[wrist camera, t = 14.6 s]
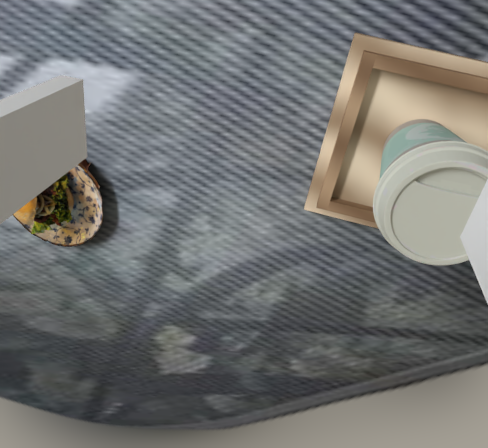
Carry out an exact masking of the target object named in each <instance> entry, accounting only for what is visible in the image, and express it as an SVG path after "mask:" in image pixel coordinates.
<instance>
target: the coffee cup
mask: <svg viewBox="0 0 488 448" xmlns="http://www.w3.org/2000/svg"><path fill="white" fill-rule="evenodd" d="M487 179H488V151H486V150H485V149H483V148H481V147H478V146H476V145H473V144H469V143H467V142H465V141H464V140H463V139H461V138H460V137H458V136H457V135H456V134H454V133H453V132H451V131H450V130H449V129H447V128H446V127H444V126H443V125H441V124H440V123H438V122H435V121H432V120H428V119H416V120H412V121H408V122H406V123H404V124H402V125H400V126H399V127H397V128H396V129H395V130H394V131H393V132H392V133H391V134H390V135H389V136H388V138H387V139H386V141H385V144H384V146H383V151H382V159H381V169H380V179H379V182H378V184H377V187H376V189H375V193H374V197H373V214H374V218H375V221H376V224H377V226H378V228H379V230H380V231H381V233H382V235H383V236H384V238H385V239H386V240H387V241H388V242H389V243H390V244H391V245H392V246H393V247H394V248H395V249H397V250H398V251H400V252H401V253H402V254H404V255H405V256H407V257H408V258H410V259H412V260H415V261H417V262H421V263H424V264H430V265H452V264H457V263H461V262H465V261H468V260H469V258H468V255H467V253H466V251H465V248H464V246H463V243H462V241H461V239H460V236H461V234H462V232H463V230H464V227H465V225H466V223H467V221H468V219H469V217H470V215H471V213H472V211H473V209H474V207H475V204H476V202H477V200H478V198H479V196H480V194H481V192H482V190H483V188H484V186H485V183H486V181H487Z"/></svg>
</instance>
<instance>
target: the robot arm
mask: <svg viewBox="0 0 488 448" xmlns="http://www.w3.org/2000/svg"><path fill="white" fill-rule="evenodd" d="M86 158H87V145H86V127H85V109H84V91H83V79H78V78H73V77H68V76H63V75H60V76H58V77H55V78H53V79H50V80H48V81H45V82H43V83H40V84H38V85H36V86H33V87H31V88H28V89H26V90H23V91H21V92H18V93H16V94H14V95H11V96H9V97H6V98H4V99H1V100H0V224H1V223H2V222H4V221H5V220H6V219H8V218H9V217H10V216H11V215H13V214H14V213H15V212H17V211H18V210H19V209H21V208H22V207H23V206H24V205H26V204H27V203H28V202H30V201H31V200H32V199H34V198H35V197H36V196H37V195H39V194H40V193H41V192H43V191H44V190H45V189H47V188H48V187H49V186H50V185H52V184H53V183H54V182H56V181H57V180H58V179H60V178H61V177H62V176H63V175H65V174H66V173H67V172H69V171H70V170H71V169H73V168H74V167H75V166H76V165H78V164H79V163H80V162H82V161H83V160H84V159H86ZM460 239H461V241H462V243H463V246H464V248H465V251H466V253H467V255H468V258H469V260H470V263H471V265H472V268H473V270H474V272H475V275H476V277H477V280H478V282H479V284H480V287H481V289H482V292H483V294H484V297H485V299H486V301H487V304H488V179H487V181H486V183H485V186H484V188H483V190H482V192H481V194H480V196H479V198H478V200H477V202H476V204H475V207H474V209H473V211H472V213H471V215H470V217H469V219H468V221H467V223H466V225H465V227H464V230H463V232H462V234H461V236H460Z"/></svg>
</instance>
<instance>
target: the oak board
mask: <svg viewBox="0 0 488 448" xmlns="http://www.w3.org/2000/svg"><path fill="white" fill-rule="evenodd" d="M416 119H428V120H432V121H435V122H438V123H440V124H441V125H443V126H444V127H446V128H447V129H449V130H450V131H451V132H453V133H454V134H456V135H457V136H458V137H460V138H461V139H463V140H464V141H465V142H467V143H469V144H473V145H476V146H478V147H481V148H483V149H485V150H486V151H488V62H485V61H481V60H476V59H472V58H467V57H463V56H458V55H454V54H449V53H445V52H440V51H436V50H431V49H427V48H422V47H418V46H413V45H409V44H405V43H400V42H396V41H391V40H387V39H382V38H378V37H373V36H369V35H364V34H360V33H355V34H354V37H353V40H352V44H351V47H350V51H349V54H348V58H347V61H346V65H345V68H344V71H343V75H342V78H341V82H340V85H339V89H338V92H337V96H336V99H335V103H334V106H333V109H332V113H331V116H330V120H329V123H328V127H327V130H326V134H325V137H324V140H323V144H322V147H321V151H320V154H319V158H318V161H317V165H316V168H315V172H314V175H313V178H312V182H311V185H310V189H309V192H308V196H307V199H306V203H305V207H304V210H308V211H312V212H316V213H319V214H323V215H327V216H331V217H335V218H339V219H343V220H347V221H351V222H355V223H359V224H363V225H367V226H371V227H374V228H378V226H377V224H376V221H375V218H374V214H373V197H374V193H375V189H376V187H377V184H378V182H379V179H380V169H381V159H382V151H383V146H384V144H385V141H386V139H387V138H388V136H389V135H390V134H391V133H392V132H393V131H394V130H395V129H396V128H397V127H399V126H400V125H402V124H404V123H406V122H408V121H412V120H416ZM378 229H379V228H378Z"/></svg>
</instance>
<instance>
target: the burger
mask: <svg viewBox="0 0 488 448" xmlns="http://www.w3.org/2000/svg"><path fill="white" fill-rule="evenodd" d="M89 166H90V163H89V164H88V163H87V161H86V159H84V160H83V161H82V162H80V163H79V164H78V165H76V166H75V167H74V168H73V169H71V170H70V171H69V172H67V173H66V174H65V175H63V176H62V177H61V178H60V179H58V180H57V181H56V182H54V183H53V184H52V185H50V186H49V187H48V188H47V189H45V190H44V191H43V192H41V193H40V194H39V195H37V196H36V197H35V198H34V199H32V200H31V201H30V202H28V203H27V204H26V205H24V206H23V207H22V208H21V209H19V210H18V211H17V212H15V213H14V214H13V216H14V217H15V218H16V219H17V221H19V222H20V223H21V224H22V225H23V227H24V228H25V229H26V230H28V231H29V232H30V233H31V234H33V235H35V236H37V237H38V238H41V239H42V240H44V241H46V242H47V243H52V244H55V245H58V246H65V247H66V246H67V247H72V246H78V245H81V244H84V243H86V242H88V241H90V240H91V239H92V238H93V237H94V236H95V235H96V233H97V232H98V230H99V228H100V226H101V225H102V223H103V208H102V196H101V194H100V190H99V188H100V186H99V184H98V183H97V181H96V179H95V178H94V177H93V176H92V175H91V173H90V172H89V171H88V167H89Z"/></svg>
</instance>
